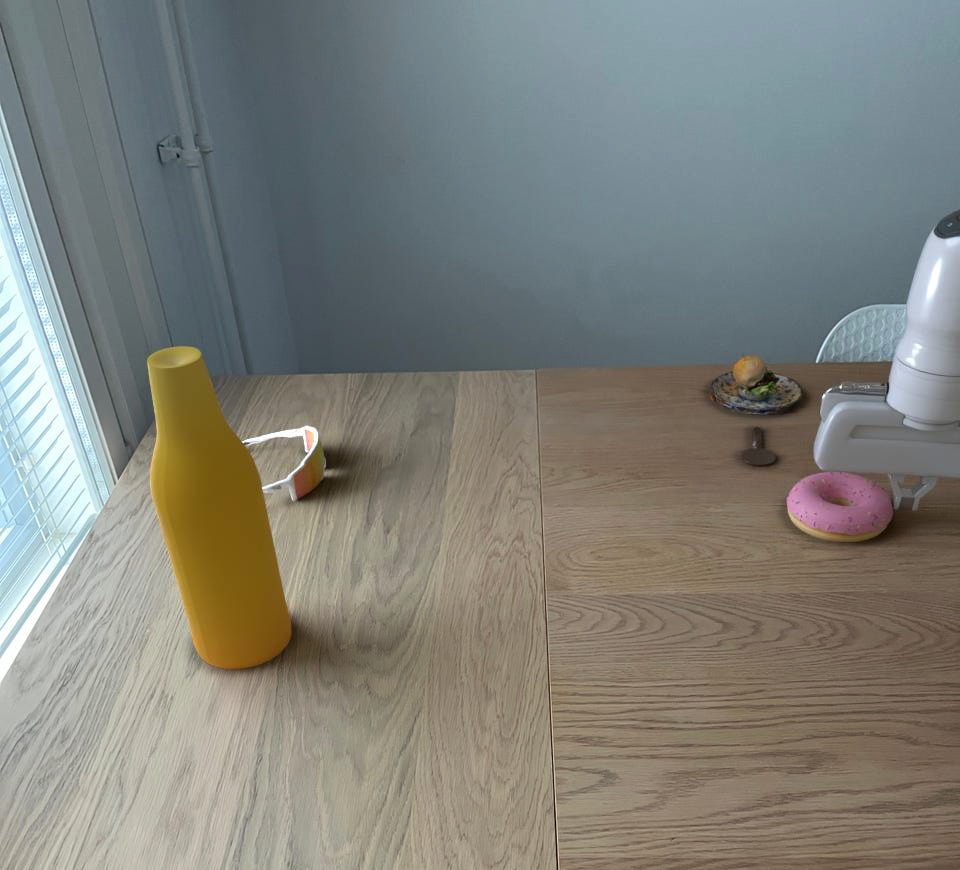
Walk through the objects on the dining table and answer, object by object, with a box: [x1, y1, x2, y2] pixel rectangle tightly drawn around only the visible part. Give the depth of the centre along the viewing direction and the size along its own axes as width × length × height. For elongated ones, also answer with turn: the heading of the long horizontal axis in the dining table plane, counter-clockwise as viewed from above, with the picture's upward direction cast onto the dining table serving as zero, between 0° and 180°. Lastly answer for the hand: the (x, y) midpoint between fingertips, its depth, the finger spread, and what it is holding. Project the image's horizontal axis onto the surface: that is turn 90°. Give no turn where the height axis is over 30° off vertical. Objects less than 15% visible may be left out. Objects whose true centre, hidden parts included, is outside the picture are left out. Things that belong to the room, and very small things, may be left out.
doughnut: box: [786, 471, 894, 543], centre depth 105 cm, size 11×11×4 cm
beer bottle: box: [146, 345, 292, 670], centre depth 85 cm, size 9×9×29 cm
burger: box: [709, 348, 804, 416], centre depth 128 cm, size 12×12×8 cm
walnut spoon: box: [740, 426, 777, 468], centre depth 119 cm, size 4×10×1 cm, turn 169°
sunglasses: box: [242, 425, 327, 502], centre depth 118 cm, size 14×15×5 cm
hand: (903, 507), depth 104 cm, fingers closed
